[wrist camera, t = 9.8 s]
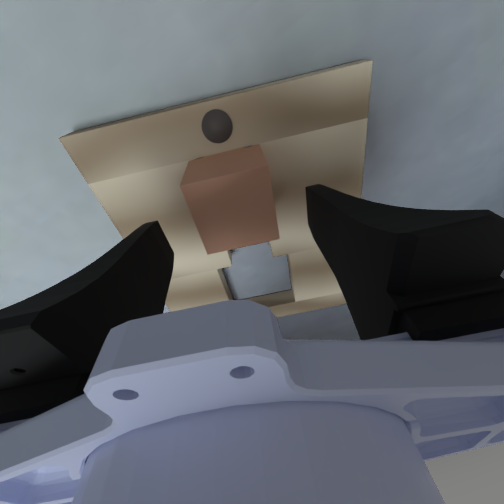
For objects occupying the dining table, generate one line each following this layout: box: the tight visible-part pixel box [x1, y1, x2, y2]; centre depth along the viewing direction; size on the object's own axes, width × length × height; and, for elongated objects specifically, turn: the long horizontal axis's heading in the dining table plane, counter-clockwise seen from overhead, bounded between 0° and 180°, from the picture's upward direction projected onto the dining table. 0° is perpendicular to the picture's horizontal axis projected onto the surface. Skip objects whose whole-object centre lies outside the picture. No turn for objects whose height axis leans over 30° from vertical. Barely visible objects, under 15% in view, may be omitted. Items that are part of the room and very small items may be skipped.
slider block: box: [180, 145, 280, 255], centre depth 14 cm, size 4×4×5 cm
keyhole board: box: [59, 60, 373, 318], centre depth 18 cm, size 18×16×2 cm
